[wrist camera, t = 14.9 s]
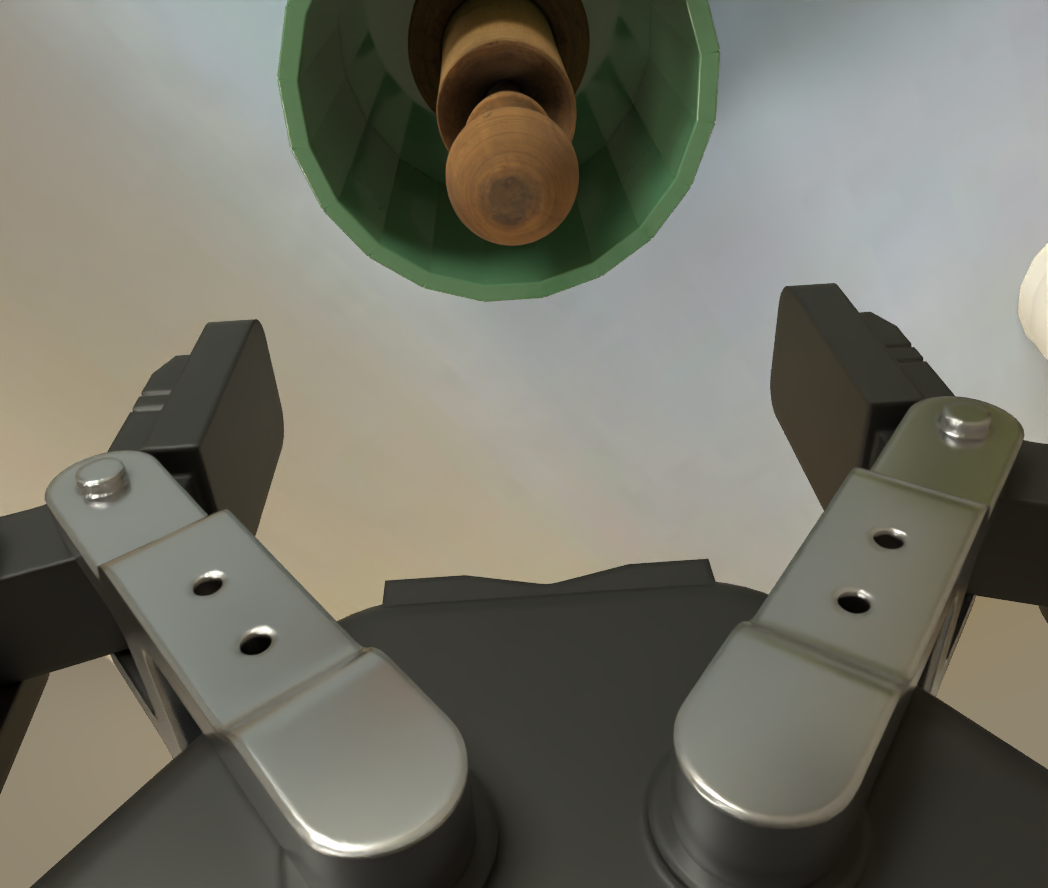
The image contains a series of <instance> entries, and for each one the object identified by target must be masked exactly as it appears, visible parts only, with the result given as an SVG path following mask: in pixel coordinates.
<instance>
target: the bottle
mask: <svg viewBox="0 0 1048 888" xmlns="http://www.w3.org/2000/svg"><path fill="white" fill-rule="evenodd" d="M1018 315H1019V318H1020V321H1021V323H1022V326H1023V329H1024V331H1025V334H1026V336H1027V337H1028V338H1029V339H1030V340H1031V341H1032V342H1033V343H1035V344H1036V345H1037V347H1038V350H1039V351H1040V352H1041V353H1042V354H1043V355H1044V356H1045V357H1046V358H1047V359H1048V243H1047V244H1046V245H1045V246H1044V248H1043V249H1042V250H1041V251H1040V252H1039V253H1038V255H1037V256H1036V257H1035V258H1034V259H1033V261H1032V263H1031V265H1030V267H1029V270H1028V272H1027V274H1026V276H1025V278H1024V281H1023V283H1022V285H1021V287H1020V296H1019V308H1018Z"/></svg>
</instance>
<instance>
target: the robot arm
mask: <svg viewBox="0 0 1048 888" xmlns="http://www.w3.org/2000/svg"><path fill="white" fill-rule="evenodd" d="M770 389H771V400H772V405H773V410H774V413H775V415H776V417H777V419H778V421H779V423H780V425H781V427H782V429H783V431H784V433H785V435H786V437H787V439H788V441H789V443H790V445H791V447H792V449H793V451H794V453H795V455H796V457H797V459H798V461H799V463H800V465H801V466H802V468H803V470H804V472H805V474H806V476H807V478H808V480H809V482H810V484H811V486H812V488H813V490H814V492H815V494H816V496H817V498H818V500H819V502H820V504H821V506H822V508H823V510H824V512H823V514H822V515H821V517H820V518H819V520H818V521H817V523H816V524H815V526H814V527H813V529H812V530H811V532H810V533H809V535H808V536H807V538H806V539H805V541H804V542H803V544H802V545H801V547H800V548H799V550H798V551H797V553H796V554H795V556H794V557H793V559H792V560H791V562H790V563H789V565H788V566H787V568H786V569H785V571H784V573H783V574H782V576H781V577H780V579H779V580H778V582H777V583H776V585H775V586H774V588H773V589H772V591H771V592H770V594H769V595H768V594H766V593H763V592H760V591H757V590H753V589H750V588H747V587H742V586H738V585H733V584H728V583H721V582H715V579H714V576H713V572H712V569H711V566H710V563H709V560H708V559H699V560H684V561H669V562H655V563H640V564H628V565H624V566H620V567H616V568H612V569H608V570H605V571H601V572H597V573H593V574H589V575H585V576H581V577H577V578H573V579H569V580H566V581H562V582H558V583H553V584H537V583H528V582H519V581H510V580H501V579H492V578H484V577H475V576H466V575H463V576H448V577H433V578H419V579H404V580H389V581H385V587H384V596H383V604H382V605H378V606H375V607H371V608H368V609H365V610H363V611H360V612H357V613H354V614H352V615H350V616H347V617H345V618H343V619H341V620H339V621H336V620H335V619H334V618H333V617H332V616H331V615H330V614H329V613H328V612H327V611H326V610H325V609H324V608H323V607H322V606H321V605H320V604H319V603H318V602H317V601H316V600H315V599H314V598H313V597H312V595H311V594H310V593H309V592H308V591H307V590H306V589H305V588H304V587H303V586H302V585H301V584H300V583H299V582H298V581H297V580H296V579H295V578H294V577H293V576H292V575H291V574H290V573H289V572H288V571H287V570H286V569H285V567H284V566H283V565H282V564H281V563H280V562H279V561H278V560H277V559H276V558H275V557H274V556H273V555H272V554H271V553H270V552H269V551H268V550H267V549H266V548H265V547H264V546H263V545H262V544H261V543H260V542H259V540H258V539H257V538H256V537H255V535H256V532H257V529H258V525H259V522H260V519H261V515H262V512H263V509H264V505H265V502H266V499H267V496H268V492H269V489H270V486H271V482H272V479H273V476H274V472H275V469H276V466H277V463H278V459H279V456H280V453H281V449H282V445H283V438H284V422H283V413H282V407H281V402H280V398H279V394H278V389H277V385H276V380H275V376H274V372H273V367H272V363H271V359H270V354H269V350H268V345H267V341H266V337H265V333H264V330H263V327H262V325H261V323H260V322H259V321H258V320H257V319H255V320H240V321H224V322H209V323H207V324H206V326H205V328H204V329H203V331H202V333H201V335H200V337H199V339H198V341H197V343H196V345H195V346H194V348H193V350H192V352H191V354H190V355H181V356H175V357H174V358H173V359H171V360H170V361H169V362H167V363H166V364H165V365H163V366H162V367H161V368H159V369H158V370H157V371H155V372H154V373H153V374H152V375H151V377H150V379H149V381H148V382H147V384H146V386H145V388H144V389H143V391H142V396H140V397H139V398H138V400H137V401H136V403H135V405H134V407H133V412H130V414H129V415H128V417H127V419H126V421H125V422H124V424H123V426H122V427H121V429H120V431H119V433H118V434H117V436H116V438H115V440H114V441H113V443H112V445H111V447H110V448H109V450H108V452H107V453H102V454H99V455H95V456H92V457H89V458H86V459H84V460H81V461H79V462H77V463H75V464H73V465H71V466H70V467H68V468H66V469H65V470H63V471H62V472H61V473H59V474H58V475H57V476H56V477H55V478H54V479H53V480H52V481H51V482H50V484H49V485H48V487H47V489H46V492H45V501H46V504H45V505H43V506H40V507H36V508H33V509H29V510H25V511H21V512H18V513H14V514H10V515H6V516H2V517H0V794H1V791H2V789H3V786H4V784H5V782H6V779H7V777H8V774H9V772H10V769H11V767H12V764H13V762H14V760H15V757H16V755H17V753H18V750H19V748H20V745H21V743H22V741H23V738H24V736H25V733H26V731H27V728H28V726H29V724H30V721H31V719H32V717H33V714H34V712H35V709H36V707H37V705H38V702H39V700H40V697H41V695H42V693H43V690H44V688H45V685H46V683H47V680H48V677H49V673H50V672H53V671H56V670H60V669H63V668H66V667H70V666H73V665H76V664H80V663H83V662H86V661H89V660H93V659H96V658H99V657H102V656H106V655H109V654H110V655H111V657H112V659H113V662H114V664H115V665H116V667H117V668H118V670H119V672H120V673H121V675H122V676H123V678H124V679H125V681H126V683H127V684H128V686H129V687H130V689H131V690H132V692H133V694H134V695H135V697H136V698H137V700H138V701H139V703H140V705H141V706H142V708H143V709H144V711H145V713H146V714H147V716H148V717H149V719H150V720H151V722H152V724H153V725H154V727H155V728H156V730H157V732H158V733H159V735H160V736H161V738H162V739H163V741H164V743H165V744H166V746H167V748H168V750H169V752H170V754H171V755H172V758H173V760H172V761H171V762H170V763H169V764H167V765H166V766H165V767H164V768H163V769H162V770H161V771H160V772H159V773H157V774H156V775H155V776H154V777H153V778H152V779H151V780H149V781H148V782H147V783H146V784H145V785H144V786H143V787H142V788H141V789H140V790H138V791H137V792H136V793H135V794H134V795H133V796H132V797H131V798H129V799H128V800H127V801H126V802H125V803H124V804H123V805H122V806H120V807H119V808H118V809H117V810H116V811H115V812H114V813H113V814H111V815H110V816H109V817H108V818H107V819H106V820H105V821H104V822H103V823H101V824H100V825H99V826H98V827H97V828H96V829H95V830H94V831H92V832H91V833H90V834H89V835H88V836H87V837H86V838H85V839H84V840H82V841H81V842H80V843H79V844H78V845H77V846H76V847H75V848H73V850H71V851H70V852H69V853H68V854H67V855H66V856H65V857H63V858H62V859H61V860H60V861H59V862H58V863H57V864H56V865H54V867H52V868H51V869H50V870H49V871H48V872H47V873H46V874H44V876H42V877H41V878H40V879H39V880H38V881H37V882H35V883H34V884H33V885H32V886H31V887H30V888H1048V769H1046V768H1045V767H1043V766H1042V765H1040V764H1039V763H1037V762H1035V761H1034V760H1032V759H1031V758H1029V757H1028V756H1026V755H1025V754H1023V753H1022V752H1020V751H1018V750H1017V749H1015V748H1014V747H1012V746H1011V745H1009V744H1008V743H1006V742H1004V741H1003V740H1001V739H1000V738H998V737H997V736H995V735H994V734H992V733H991V732H989V731H987V730H986V729H984V728H983V727H981V726H980V725H978V724H976V723H975V722H973V721H972V720H970V719H969V718H967V717H966V716H964V715H963V714H961V713H960V712H958V711H957V710H955V709H953V708H952V707H950V706H949V705H947V704H946V703H944V702H943V701H941V700H939V699H938V698H936V695H937V693H938V690H939V687H940V685H941V682H942V680H943V677H944V675H945V673H946V670H947V668H948V665H949V663H950V660H951V658H952V655H953V652H954V650H955V648H956V646H957V643H958V641H959V638H960V636H961V633H962V631H963V628H964V626H965V624H966V621H967V619H968V616H969V614H970V611H971V609H972V606H973V604H974V601H975V597H976V595H977V596H984V597H990V598H995V599H1002V600H1009V601H1015V602H1021V603H1027V604H1034V605H1039V608H1040V610H1041V613H1042V615H1043V616H1044V618H1045V620H1046V621H1047V623H1048V444H1042V443H1035V442H1029V441H1025V440H1023V439H1024V430H1023V428H1022V426H1021V424H1020V423H1019V422H1018V420H1017V419H1016V418H1014V417H1013V416H1012V415H1011V414H1009V413H1008V412H1006V411H1005V410H1003V409H1001V408H999V407H997V406H994V405H992V404H989V403H987V402H983V401H980V400H976V399H971V398H965V397H956V396H955V395H954V394H953V393H952V392H951V390H950V389H949V388H948V387H947V386H946V384H945V383H944V382H943V381H942V380H941V379H940V377H939V376H938V375H937V374H936V373H935V371H934V370H933V369H932V368H931V367H930V365H929V364H928V363H927V362H923V357H922V356H921V355H920V353H919V352H918V351H917V350H916V349H915V348H914V347H911V343H910V342H909V340H908V339H907V338H906V337H905V336H904V334H903V333H902V332H901V331H900V330H899V328H898V327H897V326H895V325H893V324H892V323H890V322H888V321H886V320H884V319H882V318H881V317H879V316H877V315H875V314H873V313H872V312H861V313H859V312H858V311H857V309H856V308H855V307H854V306H853V304H852V303H851V302H850V301H849V299H848V298H847V297H846V295H845V294H844V293H843V292H842V290H841V289H840V288H839V287H838V285H837V284H835V283H829V284H813V285H798V286H786V287H785V288H784V289H783V291H782V293H781V296H780V301H779V308H778V317H777V325H776V334H775V343H774V351H773V360H772V369H771V380H770Z"/></svg>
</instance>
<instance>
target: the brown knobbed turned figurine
mask: <svg viewBox="0 0 1048 888" xmlns="http://www.w3.org/2000/svg"><path fill="white" fill-rule="evenodd" d="M589 45H590V37H589V26H588V20H587V16H586V12H585V9H584V6H583V3H582V0H415V3H414V6H413V10H412V14H411V19H410V24H409V31H408V56H409V62H410V67H411V71H412V75H413V78H414V81H415V83H416V85H417V88H418V90H419V92H420V94H421V95H422V97H423V99H424V100H425V102H426V103H427V105H428V106H429V107H430V109H431V110H432V111H433V112H434V113H435V114H436V115H437V123H438V128H439V132H440V135H441V138H442V141H443V143H444V145H445V147H446V148H447V150H448V152H449V155H448V158H447V163H446V185H447V191H448V196H449V199H450V202H451V205H452V207H453V209H454V211H455V213H456V214H457V216H458V217H459V219H460V220H461V221H462V223H463V224H464V225H465V226H466V227H467V228H468V229H469V230H471V231H472V232H473V233H474V234H476V235H477V236H479V237H481V238H483V239H485V240H487V241H489V242H492V243H496V244H500V245H509V246H515V245H524V244H528V243H532V242H535V241H537V240H539V239H541V238H543V237H545V236H547V235H548V234H550V233H551V232H552V231H554V230H555V229H556V228H557V227H558V226H559V225H560V224H561V223H562V222H563V220H564V219H565V218H566V216H567V215H568V213H569V212H570V210H571V208H572V206H573V203H574V201H575V198H576V194H577V190H578V184H579V168H578V161H577V157H576V154H575V151H574V148H573V146H572V144H571V141H572V138H573V135H574V131H575V125H576V102H575V96H574V95H575V93H576V92H577V90H578V88H579V86H580V84H581V81H582V79H583V76H584V73H585V70H586V66H587V62H588V56H589Z"/></svg>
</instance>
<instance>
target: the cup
mask: <svg viewBox="0 0 1048 888" xmlns="http://www.w3.org/2000/svg"><path fill="white" fill-rule="evenodd" d="M414 3H415V0H287V5H286V7H285V16H284V24H283V33H282V41H281V50H280V58H279V66H278V75H277V76H278V86H279V91H280V96H281V101H282V107H283V112H284V117H285V123H286V128H287V133H288V138H289V144H290V147H291V148H292V153H293V155H294V157H295V158H296V160H297V162H298V164H299V166H300V168H301V170H302V172H303V174H304V176H305V178H306V180H307V181H308V183H309V185H310V187H311V189H312V191H313V193H314V195H315V197H316V199H317V201H318V202H319V204H320V206H321V208H322V209H324V212H325V213H326V214H327V215H328V216H329V217H330V218H331V219H332V220H333V221H334V222H335V223H336V224H337V225H338V226H339V227H340V229H341V230H342V231H343V232H344V233H345V234H346V235H347V236H348V237H349V238H350V239H351V240H352V241H353V242H354V243H355V244H356V245H357V246H358V247H359V248H360V249H361V250H362V251H363V252H364V253H365V254H366V255H367V256H369V257H370V258H371V259H373V260H374V261H376V262H378V263H380V264H382V265H383V266H385V267H387V268H389V269H391V270H392V271H394V272H396V273H398V274H399V275H401V276H403V277H405V278H407V279H408V280H410V281H412V282H414V283H415V284H417V285H419V286H421V287H424V288H426V289H430V290H435V291H439V292H443V293H448V294H452V295H457V296H461V297H465V298H470V299H474V300H479V301H484V302H487V301H502V300H518V299H533V298H543V297H547V296H550V295H552V294H555V293H558V292H560V291H563V290H566V289H569V288H571V287H574V286H577V285H580V284H582V283H585V282H588V281H590V280H593V279H596V278H599V277H600V276H601V275H604V274H605V273H607V272H608V271H609V270H611V269H612V268H614V267H615V266H616V265H618V264H619V263H620V262H622V261H623V260H624V259H626V258H627V257H628V256H630V255H631V254H632V253H634V252H635V251H636V250H638V249H639V248H640V247H642V246H643V245H644V244H646V243H647V242H649V241H650V240H651V238H653V237H654V236H655V234H656V233H657V232H658V230H659V229H660V228H661V226H662V225H663V224H664V222H665V221H666V220H667V218H668V217H669V216H670V214H671V213H672V212H673V210H674V209H675V208H676V206H677V205H678V204H679V202H680V201H681V200H682V198H683V197H684V196H685V194H686V193H687V192H688V190H689V189H690V187H691V185H692V184H693V181H694V179H695V176H696V173H697V171H698V168H699V165H700V162H701V160H702V157H703V154H704V152H705V149H706V146H707V144H708V141H709V138H710V136H711V133H712V130H713V128H714V125H715V123H714V122H715V120H716V107H717V91H718V76H719V60H720V52H719V44H718V40H717V36H716V32H715V28H714V24H713V19H712V15H711V11H710V7H709V3H708V0H582V3H583V6H584V9H585V12H586V16H587V20H588V26H589V37H590V45H589V56H588V62H587V66H586V70H585V73H584V76H583V79H582V81H581V84H580V86H579V88H578V90H577V92H576V93H575V95H574V96H575V102H576V125H575V131H574V135H573V138H572V141H571V144H572V146H573V148H574V151H575V154H576V157H577V161H578V168H579V184H578V190H577V194H576V198H575V201H574V203H573V206H572V208H571V210H570V212H569V213H568V215H567V216H566V218H565V219H564V220H563V222H562V223H561V224H560V225H559V226H558V227H557V228H556V229H555V230H554V231H552V232H551V233H550V234H548V235H547V236H545V237H543V238H541V239H539V240H537V241H535V242H532V243H528V244H524V245H515V246H509V245H500V244H496V243H492V242H489V241H487V240H485V239H483V238H481V237H479V236H477V235H476V234H474V233H473V232H472V231H471V230H469V229H468V228H467V227H466V226H465V225H464V224H463V223H462V221H461V220H460V219H459V217H458V216H457V214H456V213H455V211H454V209H453V207H452V205H451V202H450V199H449V196H448V191H447V185H446V163H447V158H448V155H449V152H448V150H447V148H446V147H445V145H444V143H443V141H442V138H441V135H440V132H439V128H438V123H437V115H436V114H435V113H434V112H433V111H432V110H431V109H430V107H429V106H428V105H427V103H426V102H425V100H424V99H423V97H422V95H421V94H420V92H419V90H418V88H417V85H416V83H415V81H414V78H413V75H412V71H411V67H410V62H409V56H408V31H409V24H410V19H411V14H412V10H413V6H414Z"/></svg>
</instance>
